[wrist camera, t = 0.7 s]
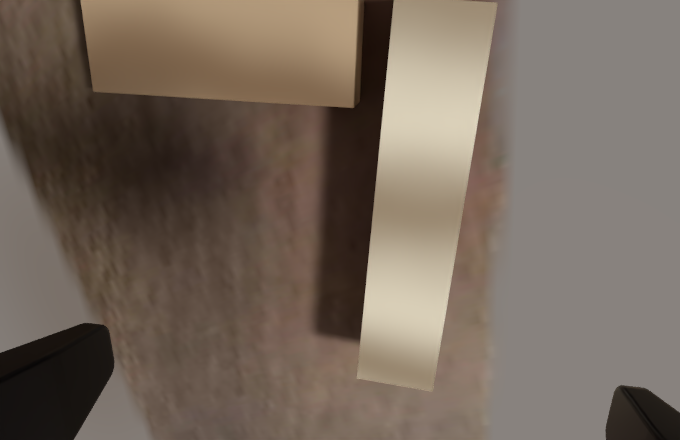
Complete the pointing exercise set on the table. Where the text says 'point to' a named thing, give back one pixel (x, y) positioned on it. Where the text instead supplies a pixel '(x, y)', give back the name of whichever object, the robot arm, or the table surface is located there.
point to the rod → (421, 183)
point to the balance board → (228, 49)
